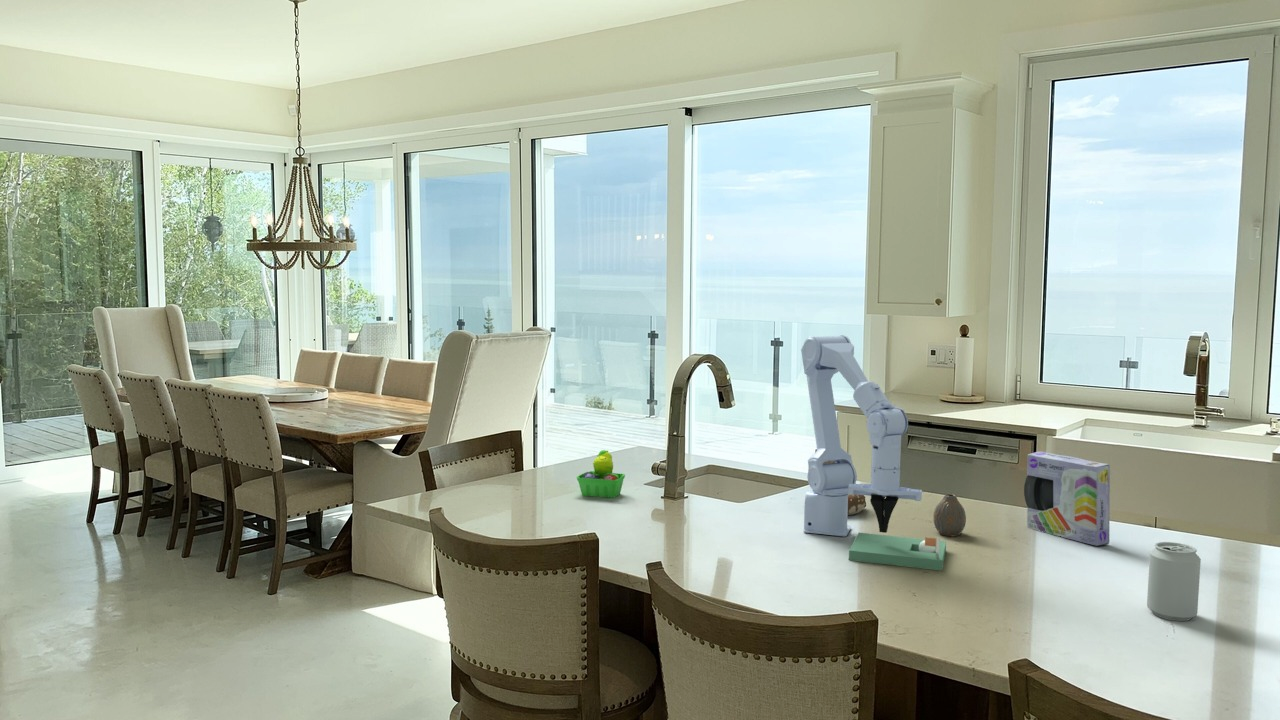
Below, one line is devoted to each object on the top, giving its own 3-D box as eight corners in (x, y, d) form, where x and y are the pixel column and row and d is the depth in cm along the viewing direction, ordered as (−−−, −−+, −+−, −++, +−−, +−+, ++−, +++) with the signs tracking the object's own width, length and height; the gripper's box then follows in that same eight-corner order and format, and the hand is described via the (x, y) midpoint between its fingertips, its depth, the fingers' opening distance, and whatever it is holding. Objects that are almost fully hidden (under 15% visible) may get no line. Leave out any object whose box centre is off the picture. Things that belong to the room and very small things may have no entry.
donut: (868, 519, 220) (869, 498, 220) (810, 516, 222) (810, 496, 222) (863, 504, 234) (864, 484, 234) (808, 502, 236) (808, 482, 236)
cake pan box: (1020, 526, 213) (1024, 451, 212) (1035, 523, 216) (1039, 449, 214) (1095, 548, 196) (1099, 466, 195) (1110, 545, 199) (1114, 464, 197)
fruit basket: (575, 496, 241) (575, 453, 239) (587, 489, 249) (587, 447, 248) (617, 499, 237) (617, 456, 236) (627, 492, 246) (627, 450, 245)
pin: (924, 567, 183) (925, 537, 182) (924, 566, 184) (925, 536, 183) (938, 569, 182) (939, 539, 181) (938, 568, 183) (939, 538, 182)
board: (848, 559, 188) (849, 550, 187) (858, 541, 201) (858, 532, 200) (941, 570, 181) (942, 560, 181) (945, 550, 194) (946, 541, 194)
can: (1137, 607, 162) (1140, 540, 161) (1177, 606, 162) (1181, 539, 161) (1164, 623, 154) (1169, 553, 153) (1207, 622, 155) (1211, 552, 154)
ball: (927, 562, 187) (914, 549, 188) (927, 558, 190) (914, 545, 191) (940, 551, 186) (927, 538, 187) (940, 547, 190) (927, 534, 190)
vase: (967, 538, 203) (968, 499, 202) (934, 536, 205) (936, 498, 204) (963, 530, 210) (964, 492, 209) (931, 528, 211) (932, 490, 210)
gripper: (847, 467, 189) (845, 532, 191) (920, 473, 184) (918, 540, 185) (852, 460, 196) (850, 523, 197) (923, 466, 191) (921, 531, 192)
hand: (883, 531), depth 192 cm, fingers closed
